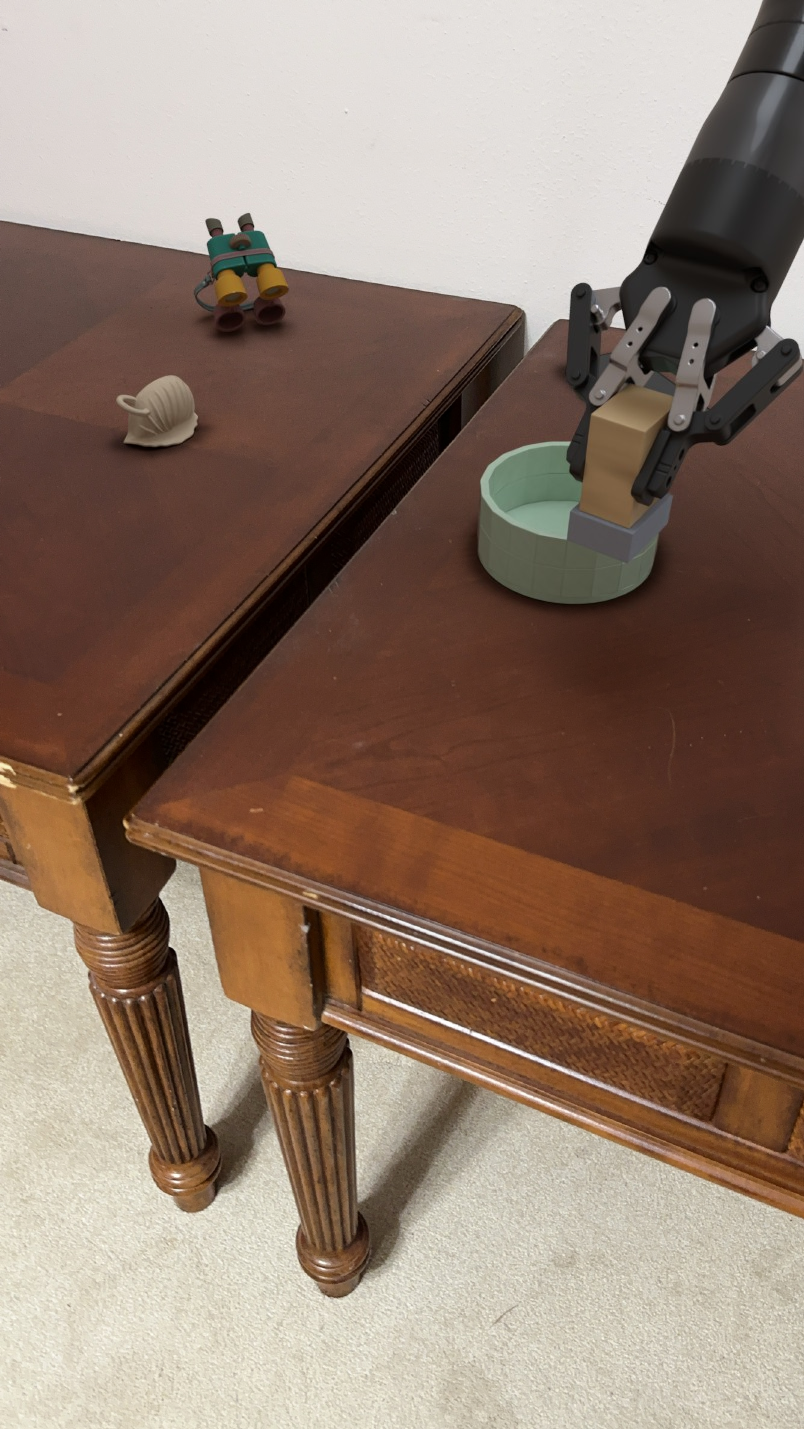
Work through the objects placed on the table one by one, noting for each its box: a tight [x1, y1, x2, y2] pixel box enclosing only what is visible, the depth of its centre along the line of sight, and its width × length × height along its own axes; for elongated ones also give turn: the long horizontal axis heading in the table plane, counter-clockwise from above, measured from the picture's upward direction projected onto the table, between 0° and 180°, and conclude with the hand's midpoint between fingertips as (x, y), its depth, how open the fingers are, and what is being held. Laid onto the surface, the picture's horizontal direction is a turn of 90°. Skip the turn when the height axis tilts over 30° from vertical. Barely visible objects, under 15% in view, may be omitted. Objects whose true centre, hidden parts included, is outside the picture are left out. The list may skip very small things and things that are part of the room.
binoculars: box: [193, 212, 290, 333], centre depth 110 cm, size 9×9×10 cm
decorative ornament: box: [116, 374, 199, 448], centre depth 94 cm, size 4×8×5 cm, turn 140°
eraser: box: [567, 383, 674, 563], centre depth 62 cm, size 5×4×8 cm
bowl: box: [476, 441, 661, 605], centre depth 81 cm, size 13×13×6 cm
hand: (609, 488), depth 60 cm, fingers closed on eraser, 3 cm apart
